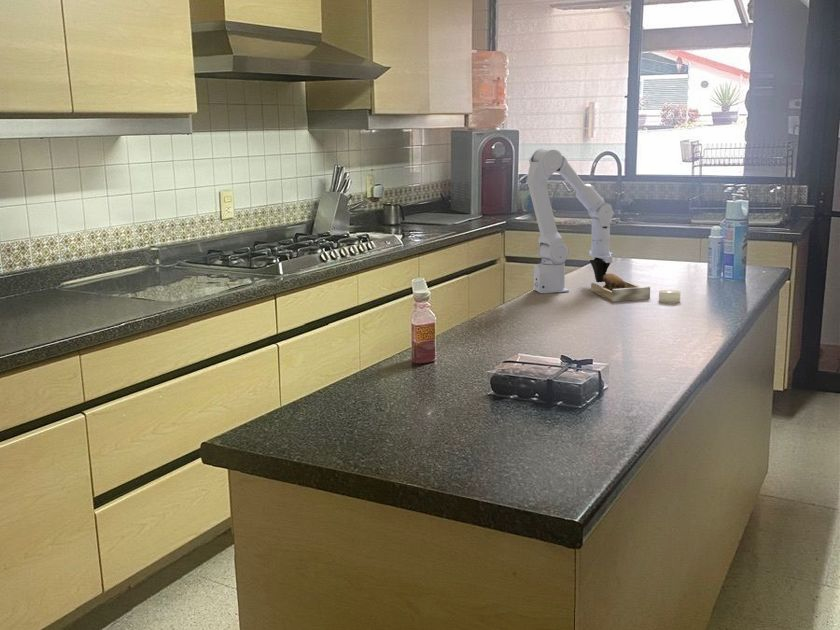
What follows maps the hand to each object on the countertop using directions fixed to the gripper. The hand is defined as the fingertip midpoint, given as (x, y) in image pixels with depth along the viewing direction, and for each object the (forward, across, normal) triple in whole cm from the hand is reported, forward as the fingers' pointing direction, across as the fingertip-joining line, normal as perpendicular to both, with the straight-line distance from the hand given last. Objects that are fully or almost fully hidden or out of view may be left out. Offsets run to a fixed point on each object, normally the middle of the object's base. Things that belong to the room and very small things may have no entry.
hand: (600, 281), depth 275 cm
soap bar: (+2, -29, -10) cm, 30 cm away
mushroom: (+2, -11, 0) cm, 11 cm away
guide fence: (+1, -15, 0) cm, 15 cm away
